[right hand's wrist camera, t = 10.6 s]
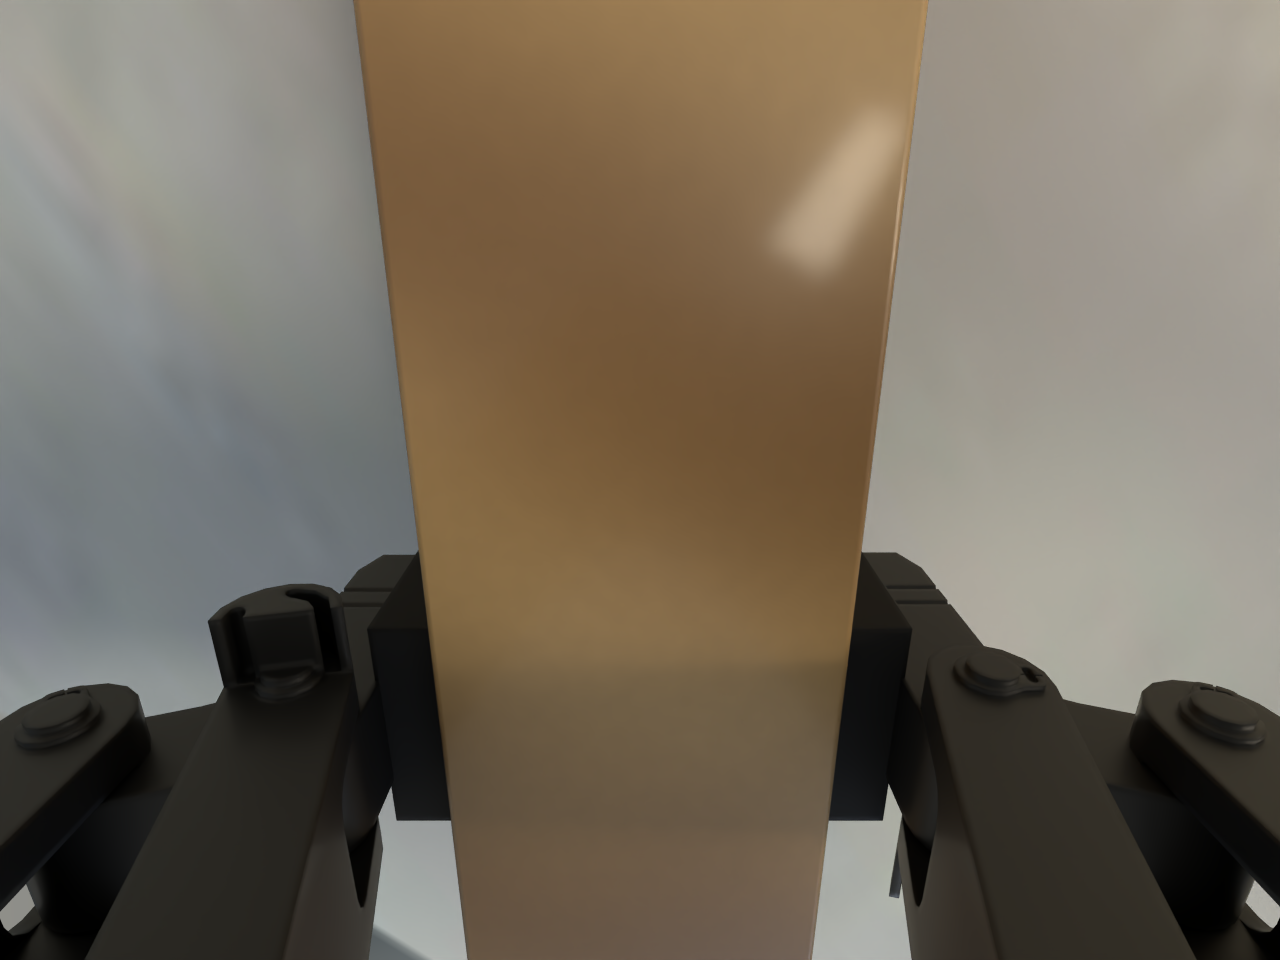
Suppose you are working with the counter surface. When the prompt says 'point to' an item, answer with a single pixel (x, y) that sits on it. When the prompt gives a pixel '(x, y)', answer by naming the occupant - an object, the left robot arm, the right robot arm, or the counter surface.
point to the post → (640, 439)
